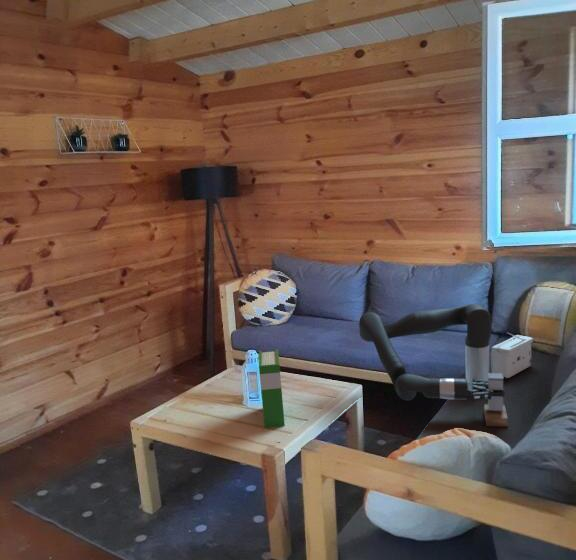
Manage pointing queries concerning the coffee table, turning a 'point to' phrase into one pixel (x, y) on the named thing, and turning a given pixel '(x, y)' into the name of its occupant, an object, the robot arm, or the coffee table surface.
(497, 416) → the stand
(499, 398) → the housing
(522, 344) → the stereo radio cassette player
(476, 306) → the robot arm
